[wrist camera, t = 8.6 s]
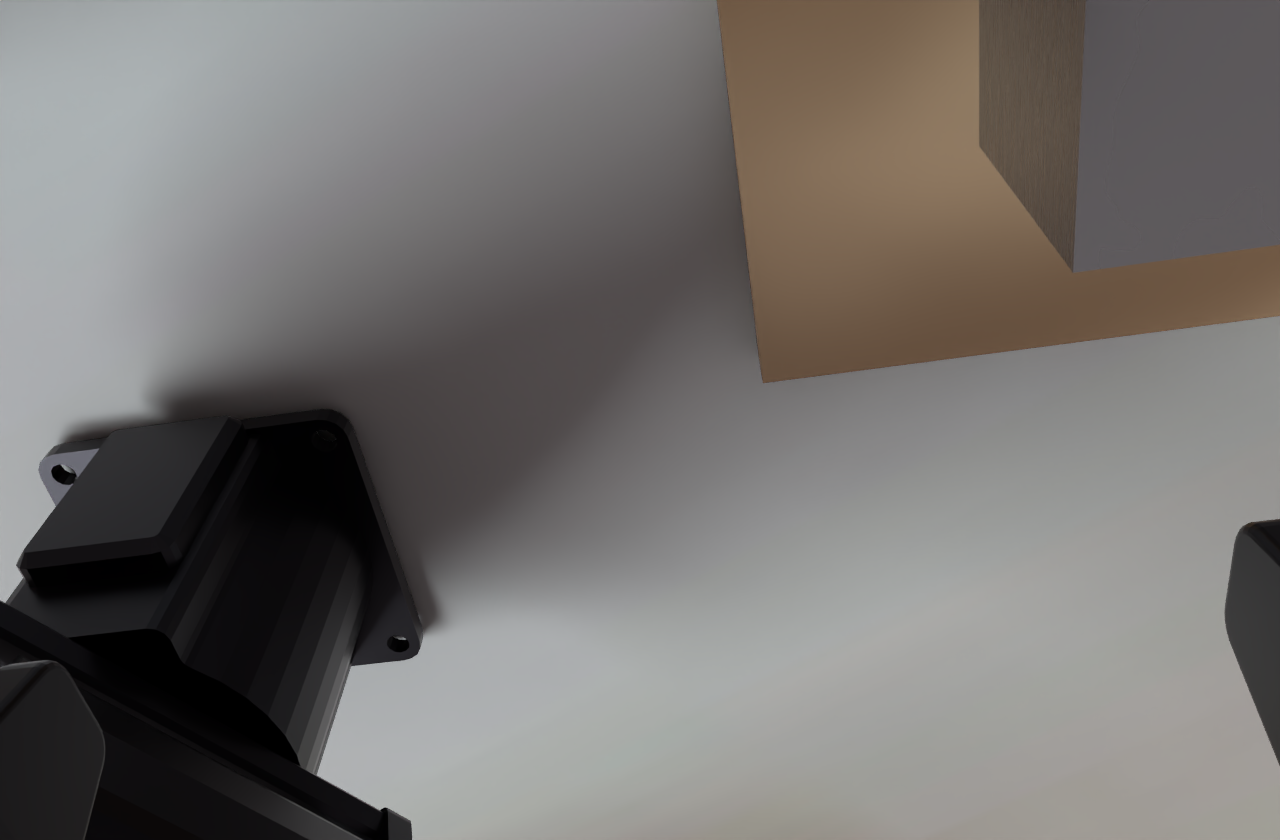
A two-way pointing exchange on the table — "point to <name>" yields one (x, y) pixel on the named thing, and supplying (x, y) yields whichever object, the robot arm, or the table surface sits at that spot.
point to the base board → (915, 204)
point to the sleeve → (1135, 123)
